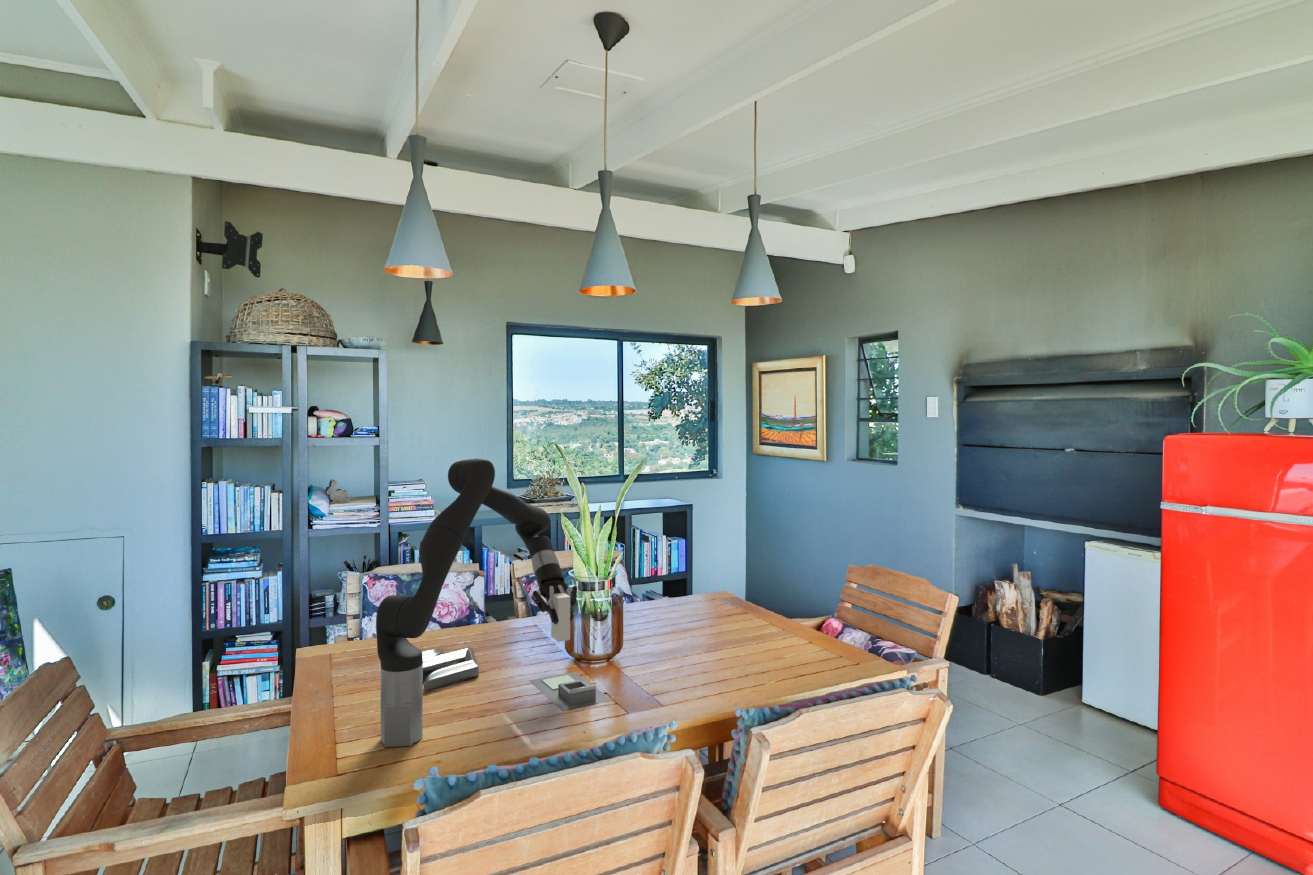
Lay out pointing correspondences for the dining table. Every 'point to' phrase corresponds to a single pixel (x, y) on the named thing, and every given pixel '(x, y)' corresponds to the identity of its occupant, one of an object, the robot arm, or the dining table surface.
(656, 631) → the dining table surface
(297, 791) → the dining table surface
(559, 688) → the grey socket base
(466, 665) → the emblem
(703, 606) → the dining table surface
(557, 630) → the cream rectangular block
